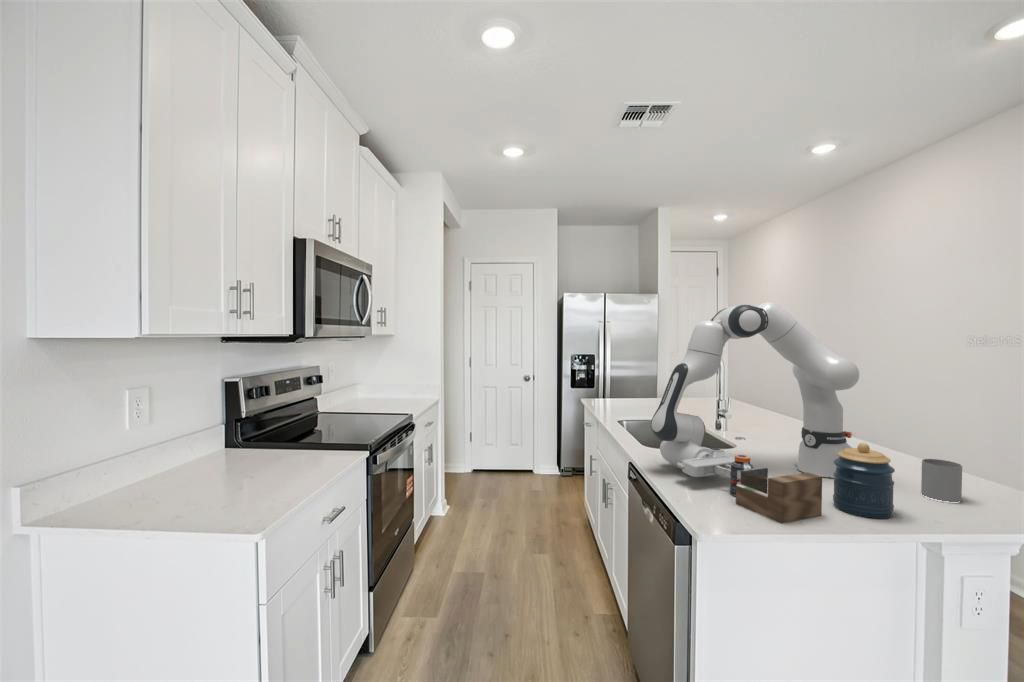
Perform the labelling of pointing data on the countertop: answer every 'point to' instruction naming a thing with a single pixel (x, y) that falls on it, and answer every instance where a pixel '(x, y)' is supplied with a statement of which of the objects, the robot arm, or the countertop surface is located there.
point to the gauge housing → (785, 497)
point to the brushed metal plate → (753, 478)
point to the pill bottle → (739, 464)
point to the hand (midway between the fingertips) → (733, 473)
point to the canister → (863, 482)
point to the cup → (941, 480)
